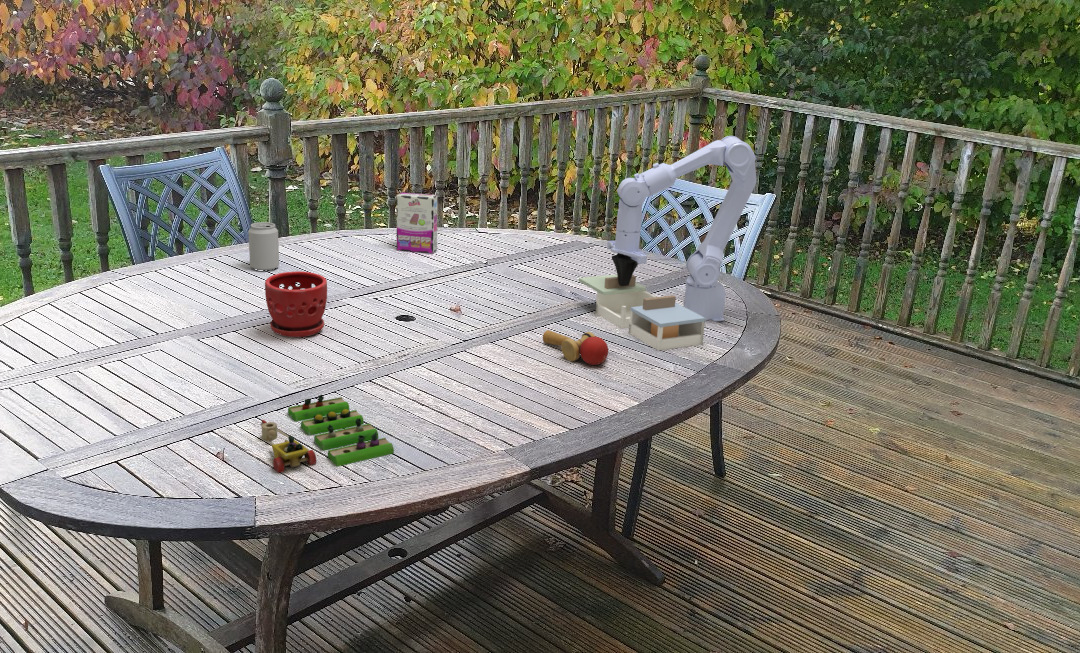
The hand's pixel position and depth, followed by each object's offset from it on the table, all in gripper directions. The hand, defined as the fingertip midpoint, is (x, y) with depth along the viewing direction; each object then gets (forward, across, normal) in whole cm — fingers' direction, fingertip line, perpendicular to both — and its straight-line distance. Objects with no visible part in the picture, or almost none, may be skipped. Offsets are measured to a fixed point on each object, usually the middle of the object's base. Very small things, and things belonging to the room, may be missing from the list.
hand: (623, 285), depth 233 cm
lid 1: (+2, -5, 0) cm, 6 cm away
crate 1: (+8, +4, 0) cm, 9 cm away
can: (+8, -65, -71) cm, 97 cm away
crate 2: (+8, +19, 0) cm, 20 cm away
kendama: (+8, +19, -24) cm, 32 cm away
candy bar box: (+8, -71, -26) cm, 76 cm away
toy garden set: (+9, +38, -85) cm, 94 cm away
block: (+7, +20, -2) cm, 21 cm away
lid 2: (+2, +19, 0) cm, 19 cm away
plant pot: (+8, -14, -75) cm, 77 cm away
